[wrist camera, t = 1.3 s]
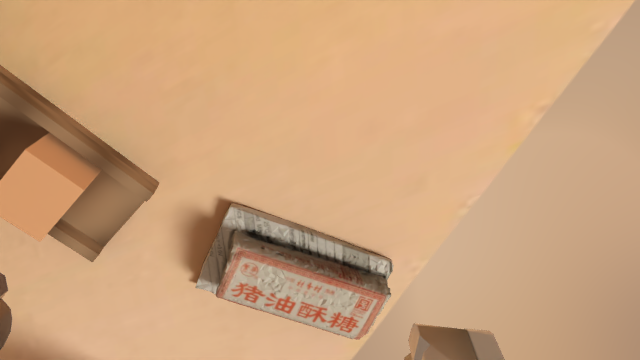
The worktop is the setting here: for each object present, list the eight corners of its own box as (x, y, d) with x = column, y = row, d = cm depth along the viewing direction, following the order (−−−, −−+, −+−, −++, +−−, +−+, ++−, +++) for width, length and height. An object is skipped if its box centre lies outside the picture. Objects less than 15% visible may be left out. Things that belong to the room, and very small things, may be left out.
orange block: (12, 180, 42) (-20, 204, 37) (52, 130, 41) (24, 149, 36) (63, 214, 43) (40, 241, 39) (103, 167, 42) (84, 190, 38)
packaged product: (406, 282, 46) (360, 360, 49) (394, 256, 50) (352, 328, 54) (226, 221, 42) (188, 310, 45) (230, 197, 46) (195, 280, 49)
